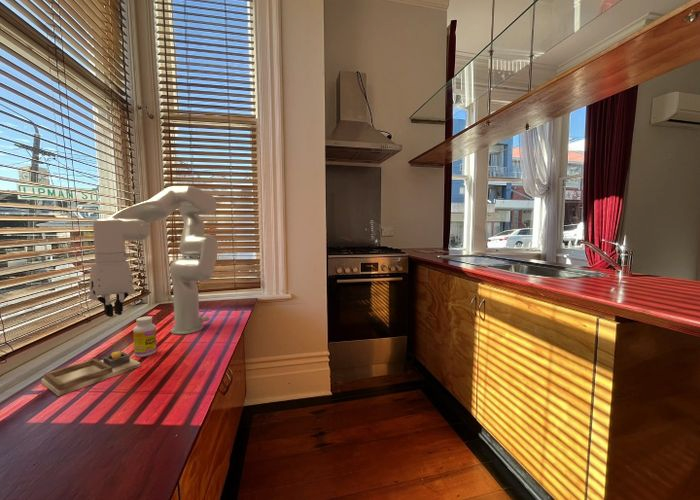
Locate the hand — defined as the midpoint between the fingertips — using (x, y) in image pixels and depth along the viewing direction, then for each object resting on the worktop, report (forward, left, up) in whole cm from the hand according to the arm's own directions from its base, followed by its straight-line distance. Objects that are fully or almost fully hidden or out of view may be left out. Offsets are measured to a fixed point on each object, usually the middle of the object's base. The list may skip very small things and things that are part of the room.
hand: (114, 314), depth 96 cm
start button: (0, 0, -15) cm, 15 cm away
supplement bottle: (-10, -3, -17) cm, 20 cm away
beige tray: (+6, 0, -17) cm, 18 cm away
